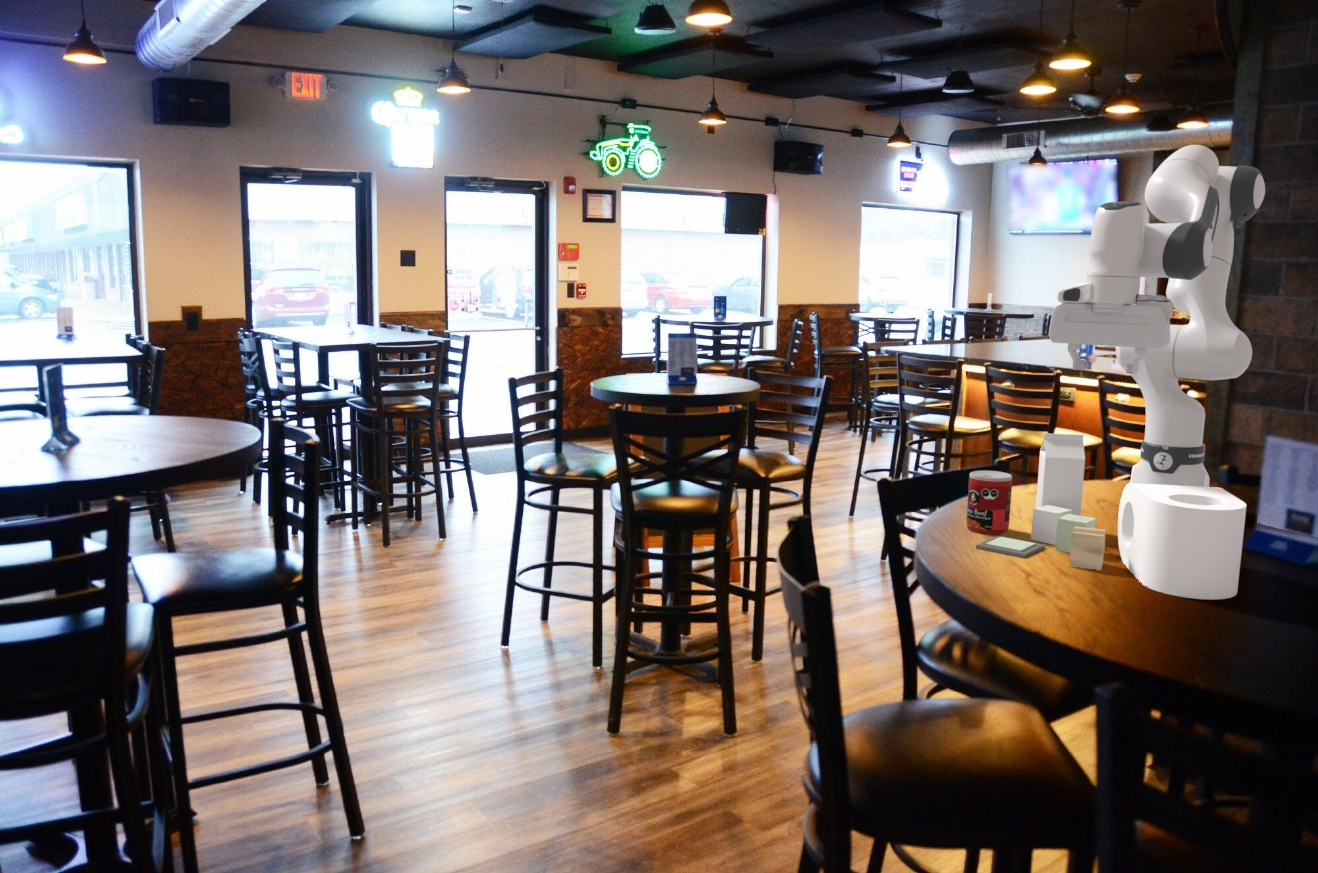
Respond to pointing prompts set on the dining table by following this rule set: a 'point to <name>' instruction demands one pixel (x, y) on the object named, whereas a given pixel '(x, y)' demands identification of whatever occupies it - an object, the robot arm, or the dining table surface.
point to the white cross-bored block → (1182, 538)
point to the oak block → (1087, 548)
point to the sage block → (1070, 529)
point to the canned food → (989, 502)
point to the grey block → (1046, 523)
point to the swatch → (1010, 546)
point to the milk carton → (1061, 472)
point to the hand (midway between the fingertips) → (1104, 371)
